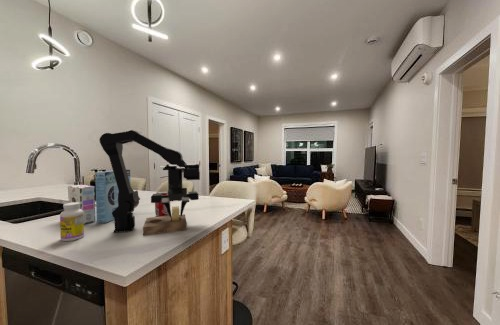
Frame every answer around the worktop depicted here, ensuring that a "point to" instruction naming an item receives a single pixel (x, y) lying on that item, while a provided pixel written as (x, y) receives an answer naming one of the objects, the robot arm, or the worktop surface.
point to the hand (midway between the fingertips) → (175, 216)
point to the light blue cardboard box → (106, 195)
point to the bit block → (164, 225)
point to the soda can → (161, 206)
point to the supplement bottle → (71, 222)
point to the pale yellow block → (175, 213)
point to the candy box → (84, 200)
